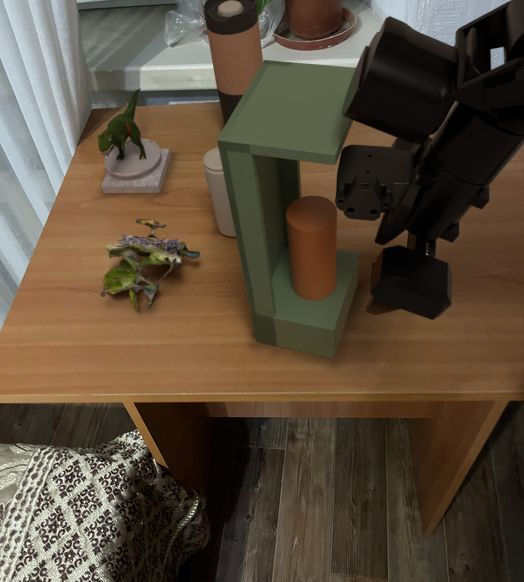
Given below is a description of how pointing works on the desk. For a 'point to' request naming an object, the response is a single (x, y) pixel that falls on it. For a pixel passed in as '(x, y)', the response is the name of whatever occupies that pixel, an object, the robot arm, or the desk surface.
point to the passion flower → (144, 247)
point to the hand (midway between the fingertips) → (374, 276)
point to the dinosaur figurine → (131, 156)
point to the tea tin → (312, 246)
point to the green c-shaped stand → (285, 196)
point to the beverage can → (218, 192)
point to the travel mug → (233, 48)
